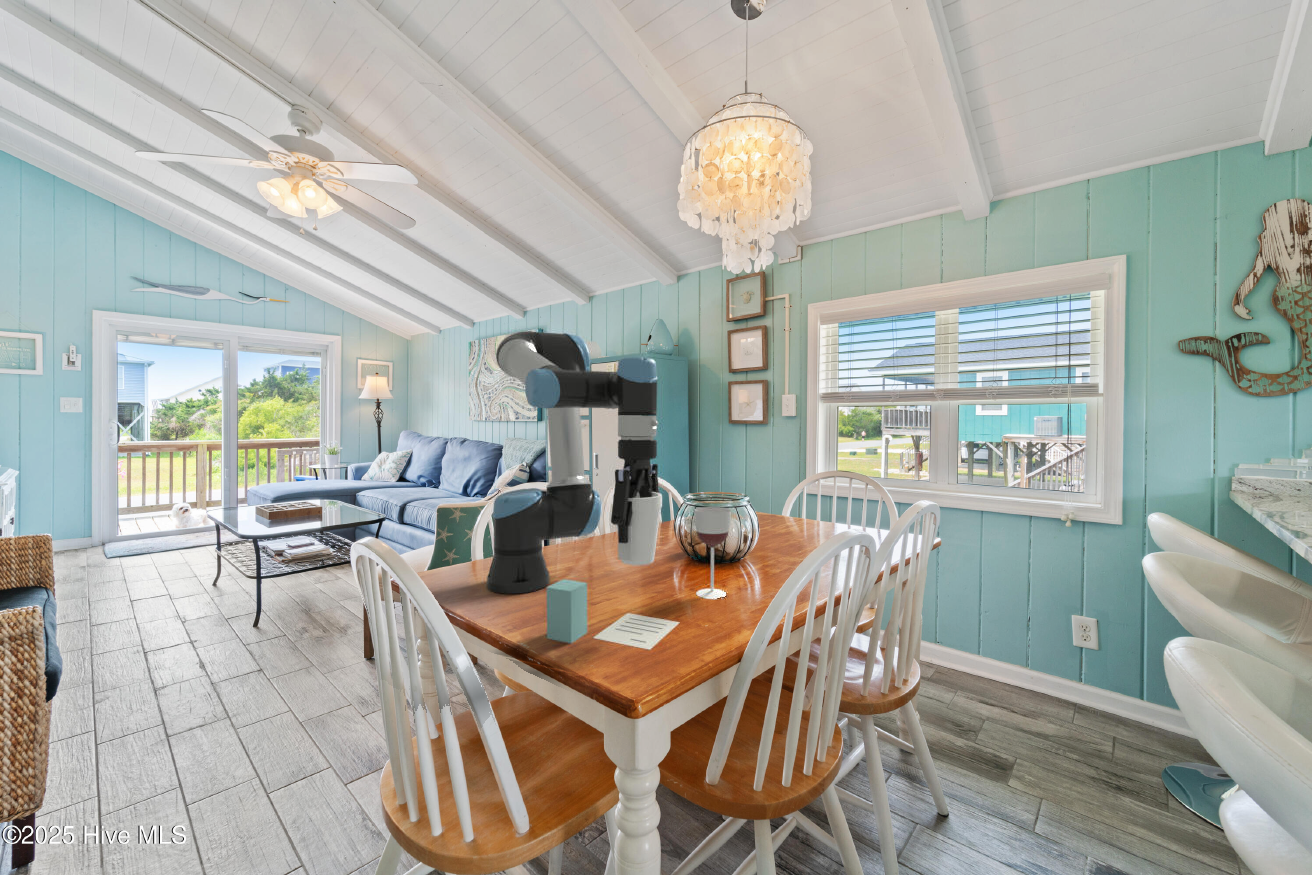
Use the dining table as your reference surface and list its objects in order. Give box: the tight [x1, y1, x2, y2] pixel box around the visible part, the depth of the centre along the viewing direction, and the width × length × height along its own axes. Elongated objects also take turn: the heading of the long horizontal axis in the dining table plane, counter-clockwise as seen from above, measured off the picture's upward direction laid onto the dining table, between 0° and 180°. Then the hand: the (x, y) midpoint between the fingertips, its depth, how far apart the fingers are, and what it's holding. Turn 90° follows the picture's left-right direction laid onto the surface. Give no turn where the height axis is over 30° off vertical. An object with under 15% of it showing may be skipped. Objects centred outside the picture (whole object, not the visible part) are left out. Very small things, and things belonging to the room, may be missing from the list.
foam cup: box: [612, 492, 663, 566], centre depth 106 cm, size 10×9×13 cm
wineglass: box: [693, 506, 732, 600], centre depth 128 cm, size 8×9×20 cm
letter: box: [592, 612, 680, 651], centre depth 107 cm, size 12×14×1 cm
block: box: [546, 579, 588, 644], centre depth 104 cm, size 6×6×10 cm
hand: (637, 553), depth 106 cm, fingers closed on foam cup, 9 cm apart
